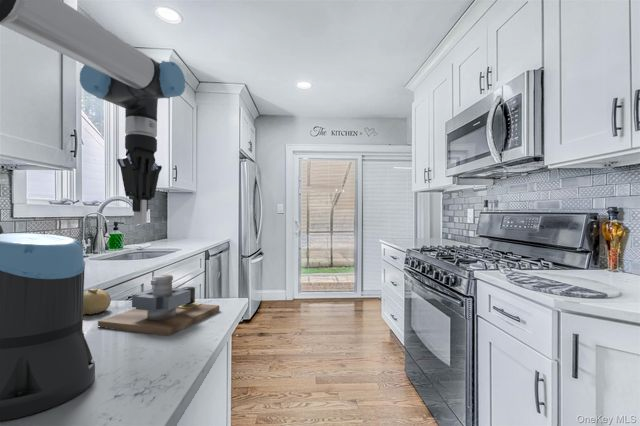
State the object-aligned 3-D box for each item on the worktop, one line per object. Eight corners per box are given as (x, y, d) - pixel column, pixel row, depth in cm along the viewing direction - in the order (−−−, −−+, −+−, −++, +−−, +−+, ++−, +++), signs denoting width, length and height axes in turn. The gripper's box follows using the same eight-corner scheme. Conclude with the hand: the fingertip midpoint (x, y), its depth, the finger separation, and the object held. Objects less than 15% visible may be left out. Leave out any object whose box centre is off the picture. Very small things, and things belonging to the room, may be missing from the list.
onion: (67, 316, 86) (68, 289, 86) (95, 308, 94) (95, 283, 94) (92, 318, 84) (92, 291, 84) (117, 310, 92) (118, 285, 92)
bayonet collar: (164, 320, 74) (164, 298, 74) (127, 316, 77) (127, 295, 77) (208, 302, 91) (208, 284, 91) (176, 299, 93) (176, 282, 94)
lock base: (168, 335, 72) (169, 283, 72) (97, 327, 77) (98, 278, 77) (219, 310, 91) (219, 269, 91) (159, 305, 96) (160, 266, 97)
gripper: (133, 128, 80) (131, 224, 79) (170, 141, 92) (169, 224, 92) (108, 130, 82) (107, 224, 81) (148, 142, 94) (147, 223, 94)
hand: (140, 224), depth 87 cm, fingers closed
